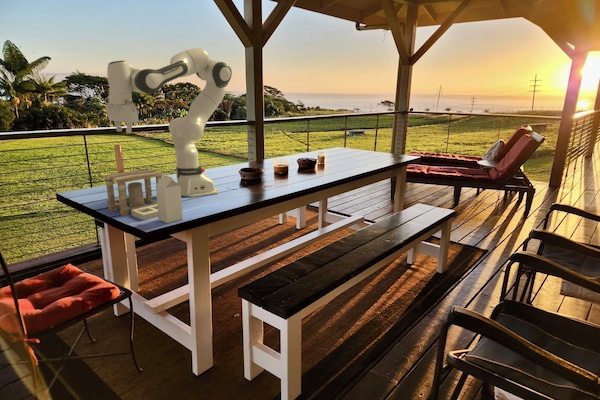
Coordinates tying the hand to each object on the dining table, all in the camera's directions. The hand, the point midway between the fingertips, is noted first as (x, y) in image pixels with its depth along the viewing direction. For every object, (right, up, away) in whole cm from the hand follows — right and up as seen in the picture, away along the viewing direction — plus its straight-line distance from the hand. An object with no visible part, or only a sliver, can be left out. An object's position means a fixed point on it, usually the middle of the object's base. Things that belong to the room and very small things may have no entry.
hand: (124, 132), depth 171 cm
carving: (+3, -34, +6) cm, 35 cm away
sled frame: (+1, -33, +8) cm, 34 cm away
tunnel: (+3, -34, +6) cm, 35 cm away
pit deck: (+13, -36, -1) cm, 39 cm away
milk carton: (+23, -39, -8) cm, 46 cm away
